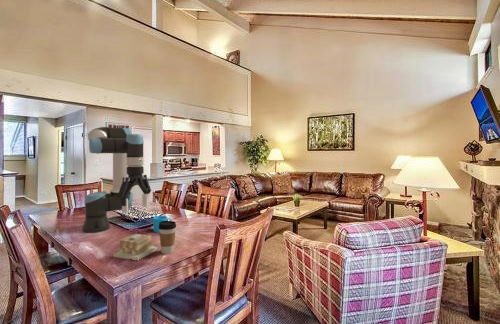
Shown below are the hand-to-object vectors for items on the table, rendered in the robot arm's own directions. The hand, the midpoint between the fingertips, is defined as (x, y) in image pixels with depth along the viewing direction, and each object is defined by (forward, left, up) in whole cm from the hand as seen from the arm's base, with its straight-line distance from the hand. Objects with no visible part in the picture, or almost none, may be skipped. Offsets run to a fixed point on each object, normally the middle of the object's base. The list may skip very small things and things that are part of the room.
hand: (135, 209), depth 126 cm
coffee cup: (+14, +6, -22) cm, 26 cm away
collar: (0, 0, -20) cm, 20 cm away
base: (0, 0, -22) cm, 22 cm away
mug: (-10, +36, -22) cm, 43 cm away
